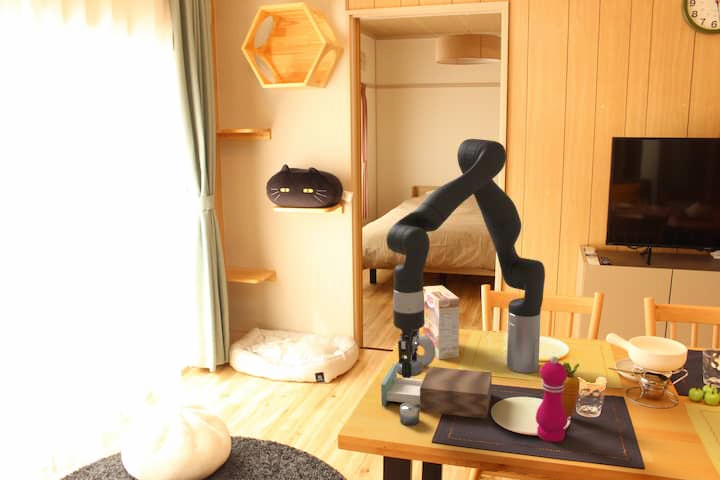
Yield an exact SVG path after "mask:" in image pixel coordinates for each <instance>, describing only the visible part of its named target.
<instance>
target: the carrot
mask: <svg viewBox="0 0 720 480" xmlns="http://www.w3.org/2000/svg"><path fill="white" fill-rule="evenodd" d="M562 365H563V366H564V367H565V368H566V371H567V378H566V380H565V381H564V382H563V383H564V390H563V391H562V394H561V399H562V404H563V406H564V408H565V411H566V413H567V417H569V418H570V417H571V416H572V414H573V413H574V411H575V410H576V407H577V403H578V399H579V394H580V393H579V392H580V382H581V381H580V379H579V377H578V376H577V375H576V374H575V372H577V369H578V367H580V364H579V363H575V365H574V367H573V369H572V367H571V365H570V362H566V361H563V363H562Z"/></svg>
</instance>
